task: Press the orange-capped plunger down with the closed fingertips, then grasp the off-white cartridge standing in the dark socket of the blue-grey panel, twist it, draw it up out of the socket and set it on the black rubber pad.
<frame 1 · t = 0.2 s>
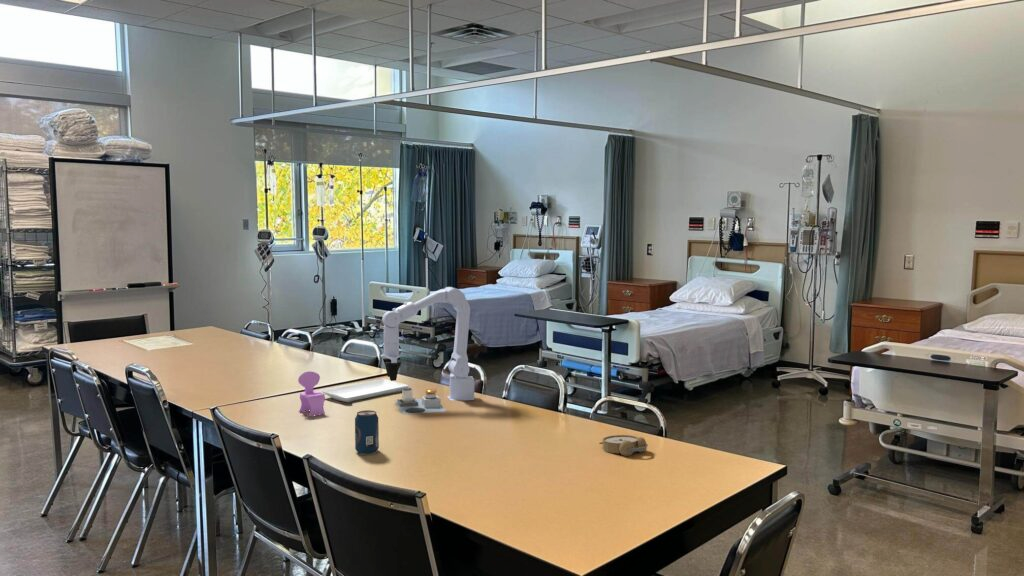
hand: (391, 378, 283), 10 cm above the table, tool pointing down, fingers open, 7 cm apart
alarm clock: (625, 452, 226), on the table
tray: (366, 396, 298), on the table
toy chair: (312, 414, 269), on the table
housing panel: (420, 407, 279), on the table
cartridge: (407, 404, 281), point 1 cm above the table, touching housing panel
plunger: (430, 395, 278), point 5 cm above the table, slide at 0.0 cm
rubber pad: (415, 410, 271), resting on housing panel
soda can: (367, 452, 224), on the table
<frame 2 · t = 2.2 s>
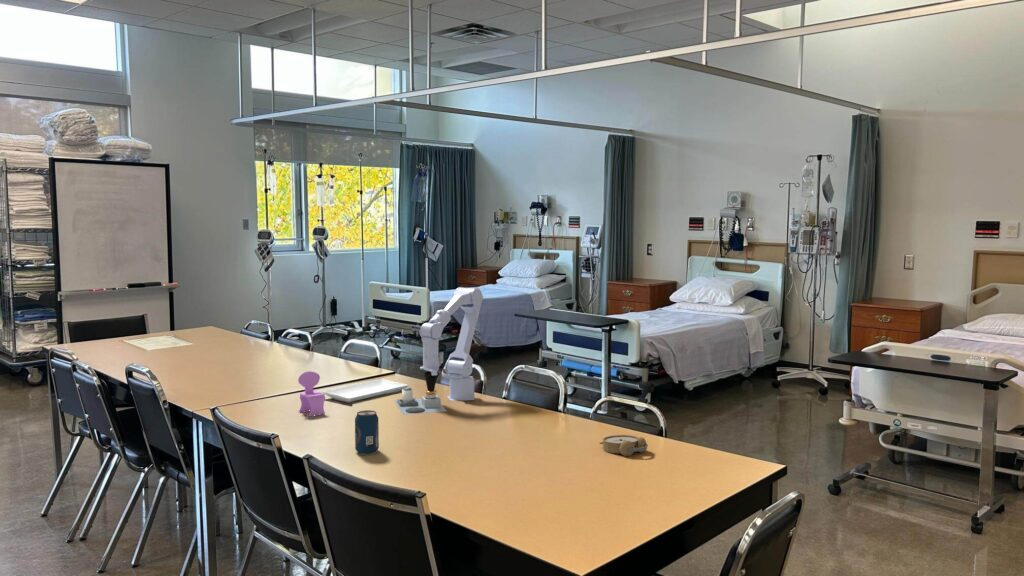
hand: (430, 390, 278), 6 cm above the table, tool pointing down, fingers closed, pressing on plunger
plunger: (431, 395, 278), point 4 cm above the table, slide at 0.2 cm, touching gripper
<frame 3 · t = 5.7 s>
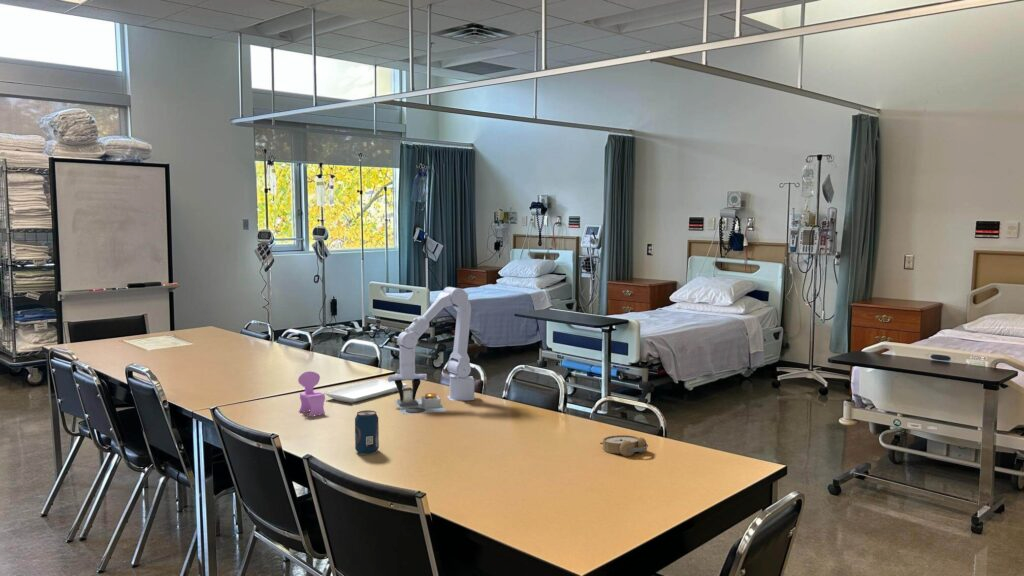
hand: (407, 399, 281), 2 cm above the table, tool pointing down, fingers closed on cartridge, 4 cm apart
cartridge: (407, 404, 281), point 1 cm above the table, touching gripper, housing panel
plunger: (431, 399, 278), point 3 cm above the table, slide at 1.5 cm
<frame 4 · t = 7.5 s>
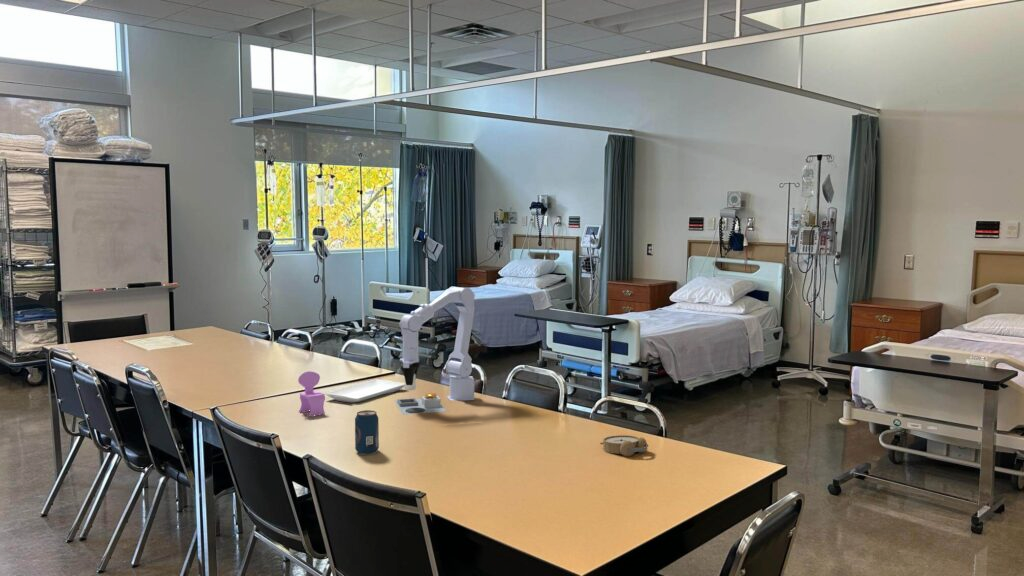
hand: (410, 383, 275), 9 cm above the table, tool pointing down, fingers closed on cartridge, 4 cm apart
cartridge: (410, 388, 276), point 7 cm above the table, touching gripper
when the fingers open (3 cm above the table, at t = 9.3 s): cartridge stays where it is, resting on rubber pad.
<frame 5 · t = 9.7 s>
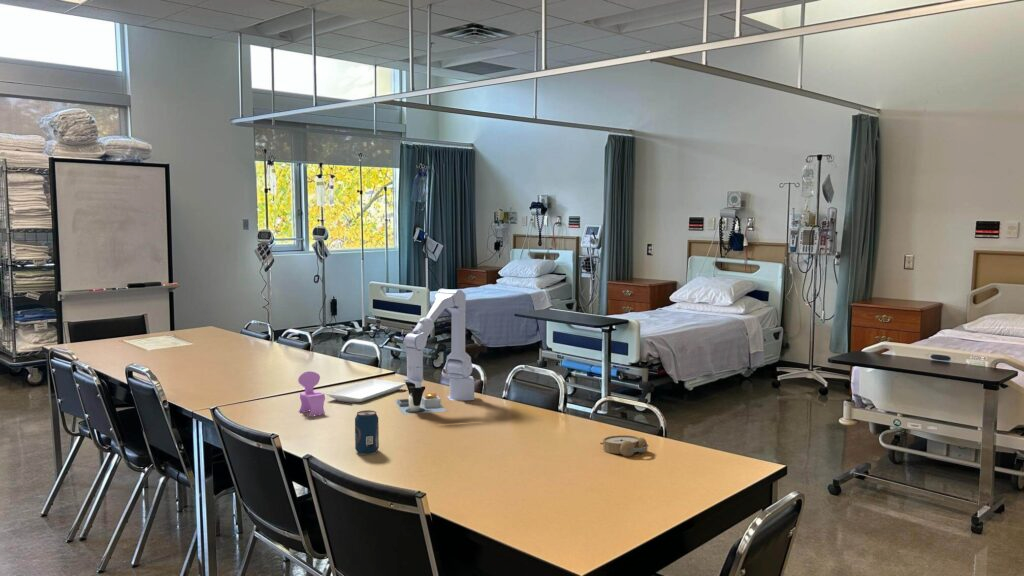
hand: (415, 403, 271), 3 cm above the table, tool pointing down, fingers open, 7 cm apart
cartridge: (414, 410, 271), point 1 cm above the table, touching rubber pad
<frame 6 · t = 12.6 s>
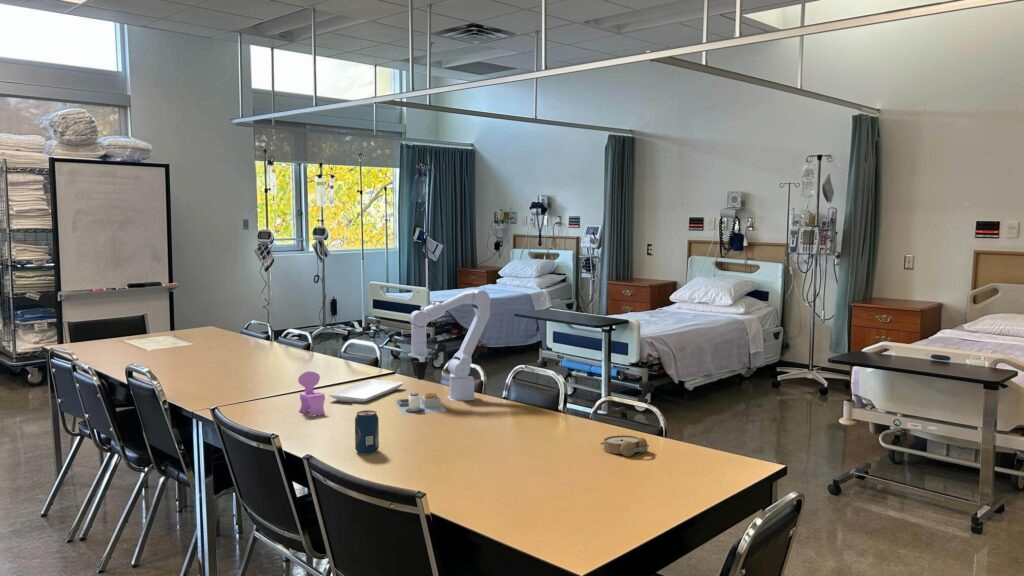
hand: (419, 377, 285), 10 cm above the table, tool pointing down, fingers open, 7 cm apart
at the end: cartridge 0.3 cm off-centre on the rubber pad, point 0.3 cm above the rubber pad's base; cartridge tilted 0°; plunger slide at 1.5 cm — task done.
